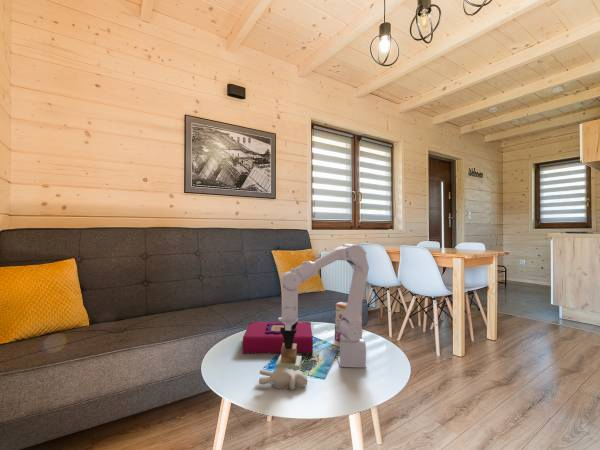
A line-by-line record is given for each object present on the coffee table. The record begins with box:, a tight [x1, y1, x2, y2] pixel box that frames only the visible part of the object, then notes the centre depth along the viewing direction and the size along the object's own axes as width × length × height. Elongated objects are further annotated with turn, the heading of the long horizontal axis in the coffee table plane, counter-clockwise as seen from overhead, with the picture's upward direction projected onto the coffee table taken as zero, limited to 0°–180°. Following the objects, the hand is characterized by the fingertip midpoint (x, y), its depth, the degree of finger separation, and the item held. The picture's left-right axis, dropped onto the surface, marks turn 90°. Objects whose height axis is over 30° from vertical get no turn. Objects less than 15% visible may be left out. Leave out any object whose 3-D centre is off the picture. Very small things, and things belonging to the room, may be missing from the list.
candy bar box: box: [334, 301, 363, 342], centre depth 137 cm, size 11×5×16 cm, turn 58°
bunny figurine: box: [258, 367, 308, 390], centre depth 99 cm, size 10×5×15 cm
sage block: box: [275, 354, 303, 371], centre depth 110 cm, size 8×8×4 cm
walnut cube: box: [280, 343, 298, 363], centre depth 110 cm, size 5×5×5 cm
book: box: [242, 321, 314, 354], centre depth 133 cm, size 21×28×8 cm
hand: (289, 344), depth 110 cm, fingers open, 7 cm apart
